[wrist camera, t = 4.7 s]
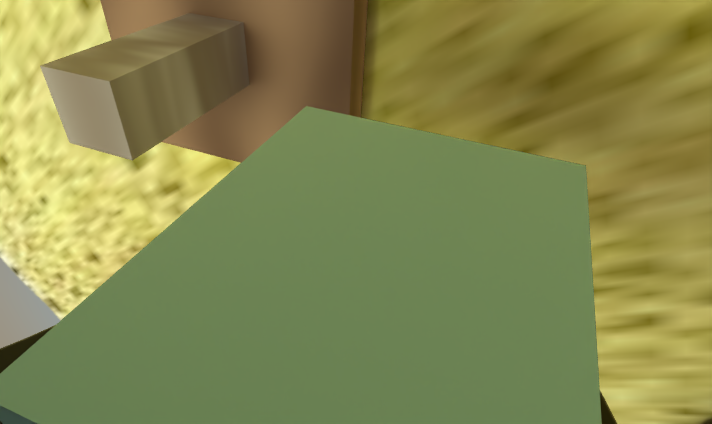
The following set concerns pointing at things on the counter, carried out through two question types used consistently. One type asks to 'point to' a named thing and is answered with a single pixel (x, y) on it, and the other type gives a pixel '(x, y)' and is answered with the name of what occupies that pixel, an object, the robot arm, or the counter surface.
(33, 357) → the sage green cube
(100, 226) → the counter surface
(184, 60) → the post block
